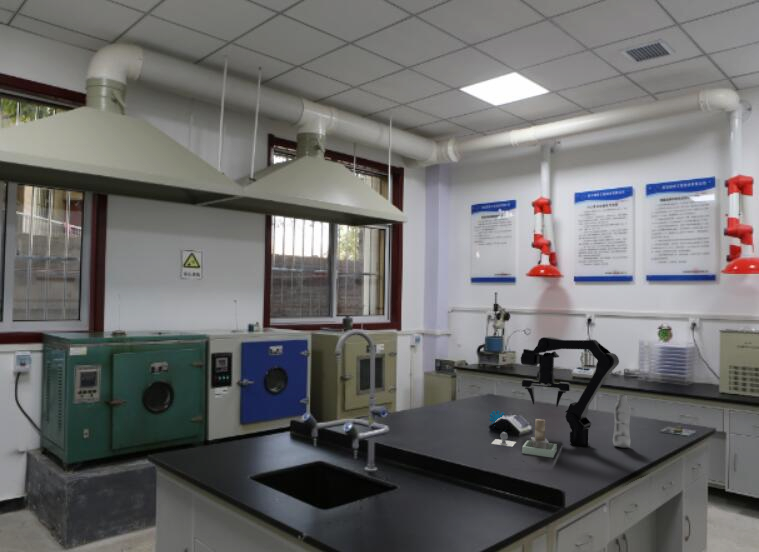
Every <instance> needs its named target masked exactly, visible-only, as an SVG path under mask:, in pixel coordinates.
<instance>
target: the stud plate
mask: <svg viewBox="0 0 759 552" xmlns="http://www.w3.org/2000/svg"><path fill="white" fill-rule="evenodd" d="M508 436H509V435H508V433H507V432H505V431H502V432H501V433H500V436H499V437H500V439H499V438H498V439H497V438H495V439H494V440H493V441H492V442H491V445H498V446H504V447H510V448H511V447H512V448H513V446H514V445H515V444H516V443H517V441H511V440H508Z"/></svg>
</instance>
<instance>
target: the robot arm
mask: <svg viewBox="0 0 759 552" xmlns="http://www.w3.org/2000/svg"><path fill="white" fill-rule="evenodd" d="M557 350H588V351H589V352H590V353H591V354H592V356H593V357H594V358H595V359H596V360H597V362H596V365H595V371H594V373H593V375H592V377H591V379H590V380H589V382H588V384H587V386H586V387H585V389H584V390H583V392H582V394H580V395H581V396H580V397H579V399H578V401H575V402H571V403H570V404H569V406H568V409H567V410H566V411H565V420H566V422H567V423H568V424H569V429H570V431H569V443H570V446H576V445H577V447H585V448H589V446H590V442H589V439H590V437H589V436H590V429H591V426H592V422H591V421H590V419H588V417H587V416H588V412H589V407H590V405H591V402H593V400H594V398H595V396H596V395H597V392H598V391H599V390H600V389H601V386H602V385H603V383H604V381H605V379H606V378H607V377H608V376H609V375H610V373H612V372H613V371H614V369H616V367H618V365H619V364H620V359H619V356H617V354H616V353H613V352H611V351H610V350H609V349H608V348H606V347H605V346H603V345H602V344H601V343H600V342H599V341H598V340H597V339H560V338H557V337H551V336H547V337H545V336H544V337H541V338H540V339H538V342H537V345H536V346H535V347H534V349H529V348H524V349H523V350H522V351H523V352H522V353H521V355H520V363H521V365H522V366H528V367H529V366H530V367H537V366H538V367H539V368H538V371H537V373H536V379H537V380H538V381H535V380H534V379H533V378H532V379H531V378H523V380H521V387H523V388H524V389H525V390H527V392H528V393H529V395H530V396H529V397H530V399H531V401H532V405H535V387H542V388H543V387H544V388H555V389H558V391H557V397H556V405H555V406H556V408H558V407H559V404H560V401H561V398H562V396H563V394H566V393H567V392H570V390H571V383H570V382H568V381H560V382H558V383H556V382H555V375H554V367H555V363H554V362H555V358H560V355H559V354H558V353H557V352H556V351H557ZM551 351H552V352H551Z"/></svg>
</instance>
